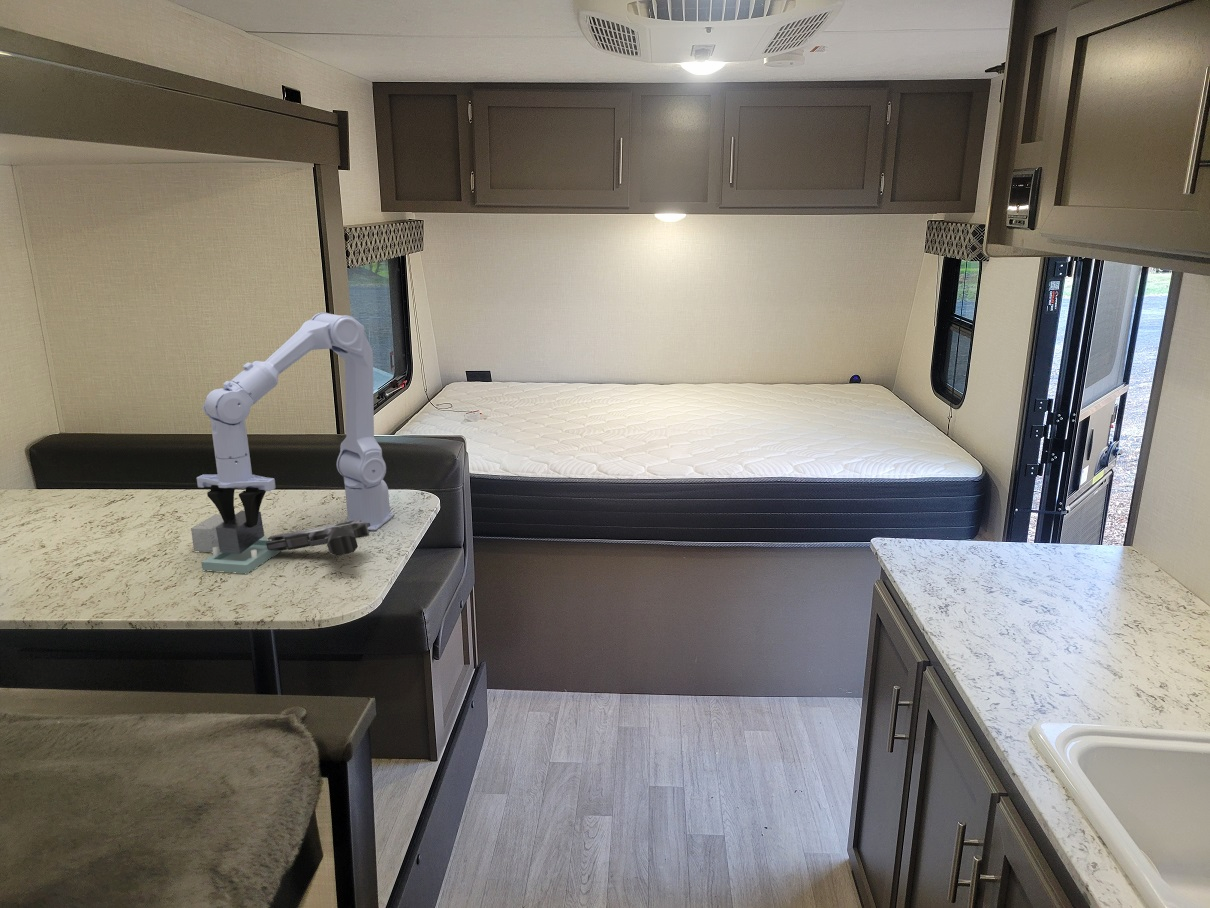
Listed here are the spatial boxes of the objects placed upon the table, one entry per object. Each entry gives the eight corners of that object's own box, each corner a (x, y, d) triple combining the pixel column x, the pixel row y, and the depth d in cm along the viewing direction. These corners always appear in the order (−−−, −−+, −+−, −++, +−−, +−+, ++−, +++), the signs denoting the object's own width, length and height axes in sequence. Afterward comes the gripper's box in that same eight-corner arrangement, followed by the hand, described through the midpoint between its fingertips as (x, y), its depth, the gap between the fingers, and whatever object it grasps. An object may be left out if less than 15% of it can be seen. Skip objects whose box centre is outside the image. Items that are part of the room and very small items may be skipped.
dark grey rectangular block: (240, 553, 153) (235, 528, 152) (220, 552, 154) (215, 527, 152) (264, 535, 161) (260, 511, 159) (245, 534, 161) (241, 510, 160)
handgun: (352, 534, 148) (373, 514, 159) (242, 556, 149) (270, 534, 161) (357, 552, 148) (378, 530, 160) (247, 572, 150) (275, 549, 162)
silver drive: (218, 537, 169) (215, 514, 168) (236, 538, 169) (233, 515, 168) (194, 552, 162) (190, 528, 160) (213, 553, 161) (210, 529, 160)
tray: (244, 544, 165) (242, 529, 164) (286, 547, 164) (284, 532, 163) (202, 571, 153) (200, 554, 152) (247, 574, 151) (245, 557, 151)
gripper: (182, 458, 150) (192, 530, 154) (256, 462, 148) (264, 535, 151) (206, 448, 157) (216, 517, 161) (278, 452, 154) (285, 521, 158)
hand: (241, 525), depth 157 cm, fingers closed on dark grey rectangular block, 4 cm apart
